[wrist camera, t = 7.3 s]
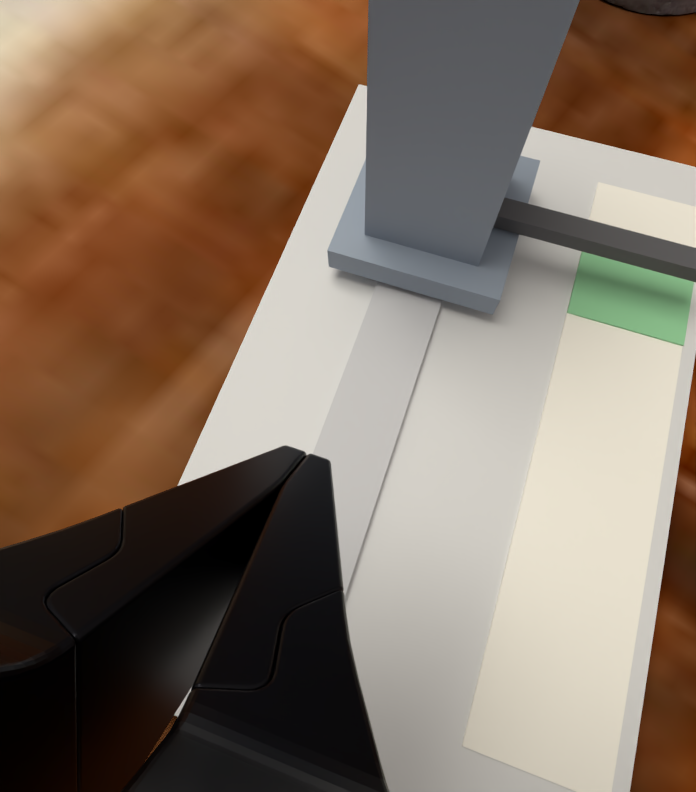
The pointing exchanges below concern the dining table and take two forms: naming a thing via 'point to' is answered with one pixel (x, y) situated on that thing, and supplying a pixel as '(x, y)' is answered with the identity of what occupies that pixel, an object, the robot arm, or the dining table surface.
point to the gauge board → (488, 471)
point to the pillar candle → (658, 6)
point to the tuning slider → (464, 153)
